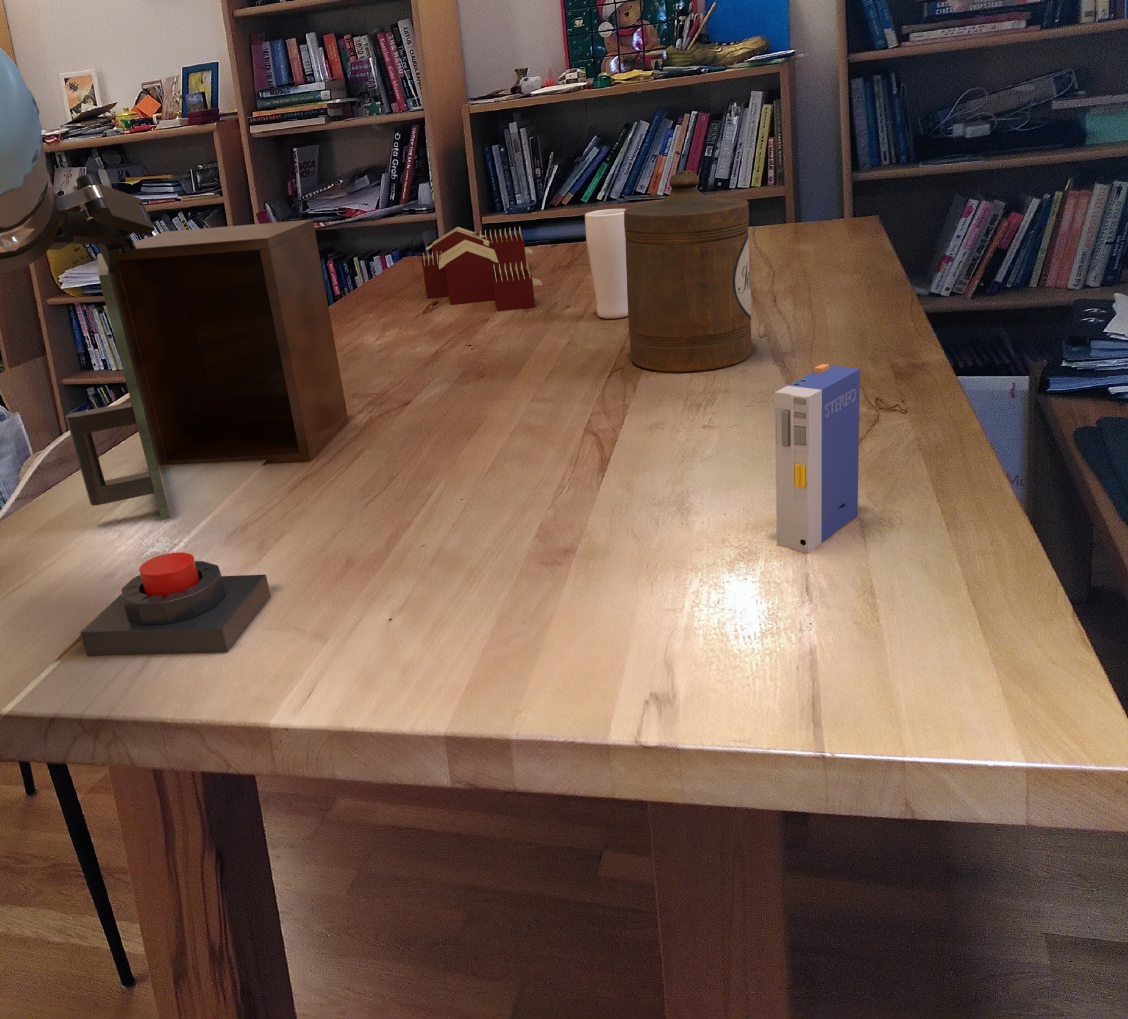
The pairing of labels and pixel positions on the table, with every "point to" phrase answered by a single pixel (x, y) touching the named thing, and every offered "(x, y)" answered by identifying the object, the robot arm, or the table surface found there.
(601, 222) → the drinking glass
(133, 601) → the button block
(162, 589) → the red button
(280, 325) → the cupboard
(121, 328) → the cupboard door
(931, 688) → the table surface
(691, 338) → the wooden container
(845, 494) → the walkman
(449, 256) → the toy houses
